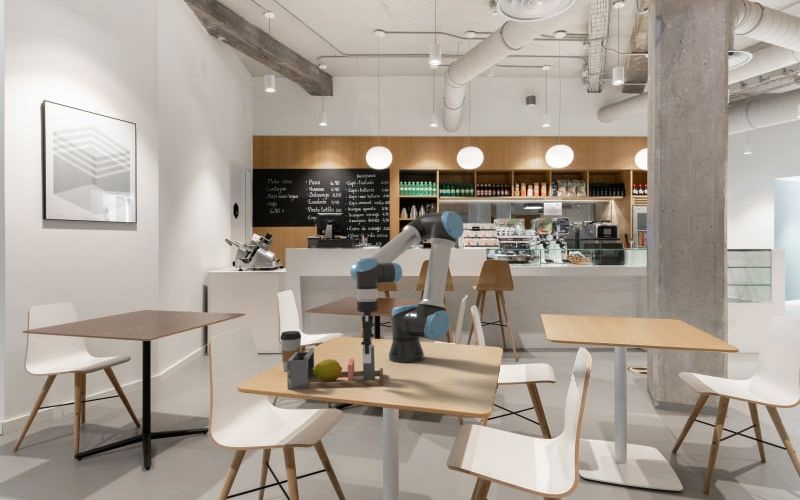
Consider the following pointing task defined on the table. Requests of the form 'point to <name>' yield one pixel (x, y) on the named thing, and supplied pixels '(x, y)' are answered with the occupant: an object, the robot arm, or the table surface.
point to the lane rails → (350, 383)
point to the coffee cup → (289, 345)
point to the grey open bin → (300, 369)
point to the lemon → (327, 370)
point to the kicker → (367, 369)
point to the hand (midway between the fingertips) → (367, 358)
